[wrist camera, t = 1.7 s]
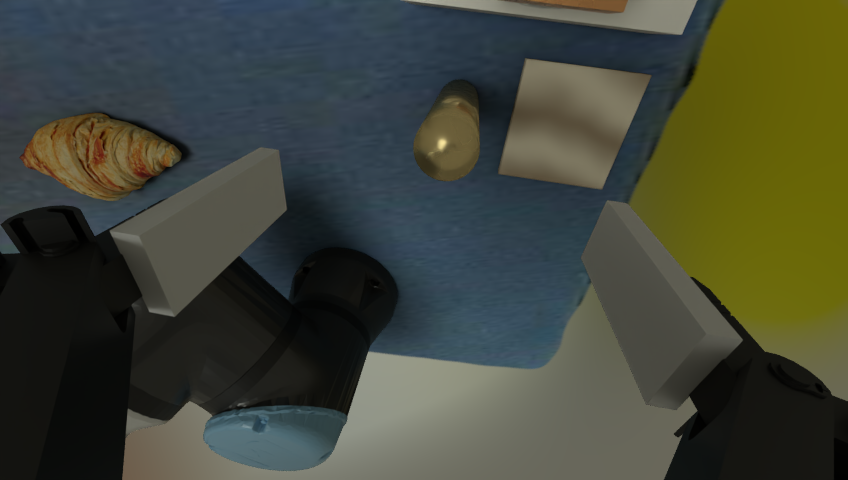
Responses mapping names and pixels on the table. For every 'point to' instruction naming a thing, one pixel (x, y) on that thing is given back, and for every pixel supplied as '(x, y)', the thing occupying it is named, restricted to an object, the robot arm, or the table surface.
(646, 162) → the table surface
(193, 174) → the table surface
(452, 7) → the beige square block
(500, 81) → the table surface
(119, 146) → the croissant
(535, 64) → the birch pad
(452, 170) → the brass capsule
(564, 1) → the silver metal disc
